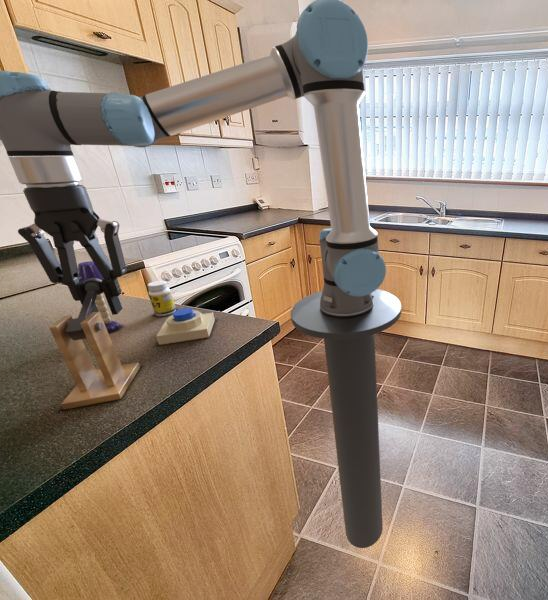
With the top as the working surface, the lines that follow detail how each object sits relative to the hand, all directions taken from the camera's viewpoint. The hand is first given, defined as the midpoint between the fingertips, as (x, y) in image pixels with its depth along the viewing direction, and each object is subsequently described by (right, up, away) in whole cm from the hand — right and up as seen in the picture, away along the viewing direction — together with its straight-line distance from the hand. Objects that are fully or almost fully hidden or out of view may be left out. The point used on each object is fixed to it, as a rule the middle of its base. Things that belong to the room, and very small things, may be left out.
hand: (105, 312), depth 65 cm
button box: (+7, -5, +15) cm, 17 cm away
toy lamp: (-13, -5, +17) cm, 22 cm away
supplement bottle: (-6, -1, +25) cm, 25 cm away
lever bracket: (+3, -13, -4) cm, 14 cm away
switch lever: (+1, 0, -4) cm, 4 cm away
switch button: (+7, -2, +14) cm, 15 cm away
